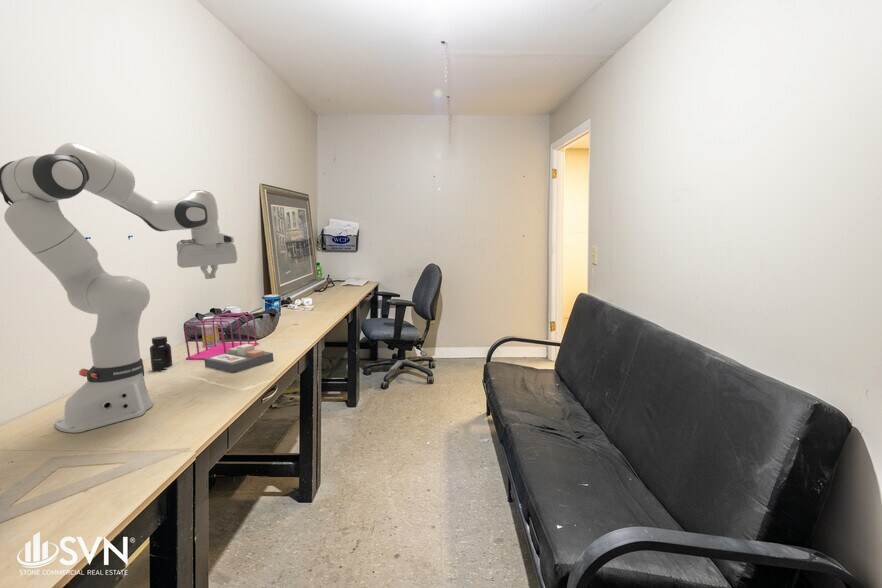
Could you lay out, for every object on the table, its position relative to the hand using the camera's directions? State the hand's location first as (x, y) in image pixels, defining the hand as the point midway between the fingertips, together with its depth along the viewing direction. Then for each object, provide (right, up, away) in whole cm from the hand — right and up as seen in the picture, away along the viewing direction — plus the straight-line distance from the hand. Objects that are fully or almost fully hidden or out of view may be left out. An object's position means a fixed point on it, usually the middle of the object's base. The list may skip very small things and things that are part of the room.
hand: (210, 278), depth 163 cm
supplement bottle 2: (-22, -29, +46) cm, 59 cm away
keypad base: (+5, -33, +12) cm, 35 cm away
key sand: (+7, -29, +14) cm, 33 cm away
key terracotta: (+11, -31, +12) cm, 35 cm away
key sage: (+2, -30, +17) cm, 35 cm away
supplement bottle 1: (-24, -34, +12) cm, 43 cm away
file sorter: (-9, -31, +31) cm, 45 cm away
